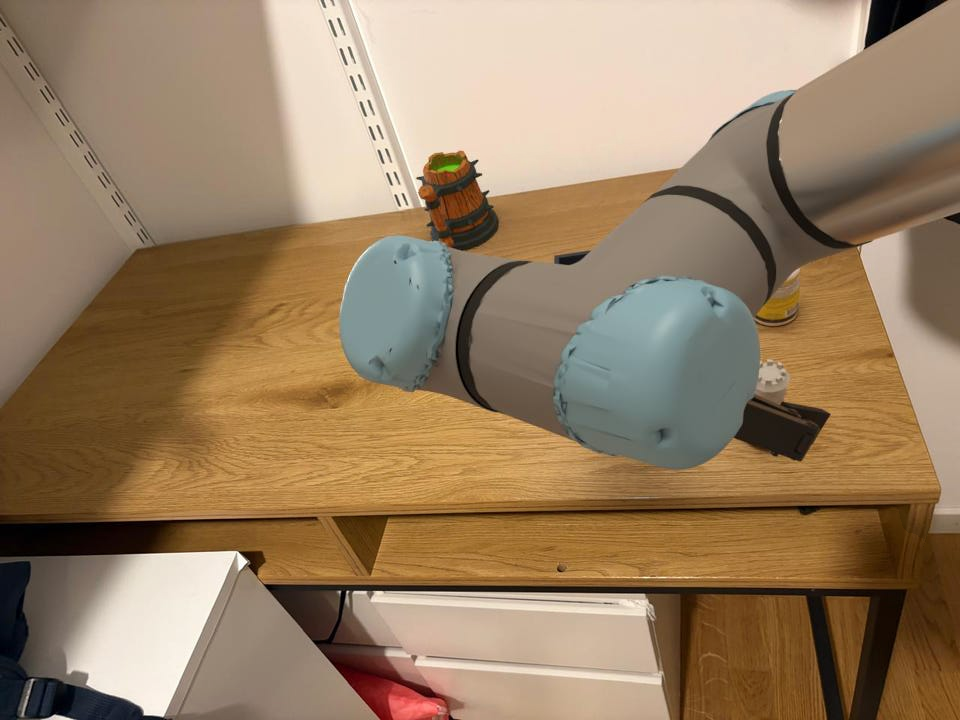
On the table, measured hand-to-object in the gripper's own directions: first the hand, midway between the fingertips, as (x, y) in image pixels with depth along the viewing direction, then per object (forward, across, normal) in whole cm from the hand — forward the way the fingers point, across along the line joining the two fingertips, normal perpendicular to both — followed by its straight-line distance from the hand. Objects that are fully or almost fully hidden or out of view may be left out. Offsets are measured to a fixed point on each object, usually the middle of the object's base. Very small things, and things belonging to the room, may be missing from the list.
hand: (744, 383), depth 60 cm
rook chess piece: (+8, 0, -4) cm, 9 cm away
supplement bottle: (+17, -10, +5) cm, 20 cm away
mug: (+8, -51, -4) cm, 52 cm away
